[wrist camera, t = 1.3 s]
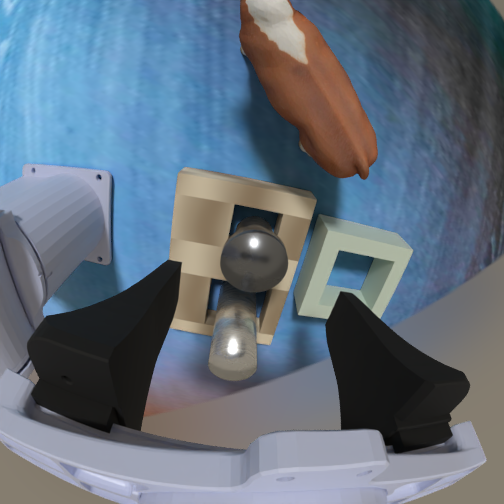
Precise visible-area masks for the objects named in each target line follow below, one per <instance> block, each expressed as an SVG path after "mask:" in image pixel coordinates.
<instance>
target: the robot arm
mask: <svg viewBox="0 0 504 504" xmlns="http://www.w3.org/2000/svg"><path fill="white" fill-rule="evenodd" d="M34 168H35V171H34ZM99 174H100V175H101V177H102V179H101V180H100V179H99V178H98V175H99ZM111 190H112V175H111V173H110V172H109V171H104V170H95V169H86V168H76V167H66V166H55V165H42V164H25V165H24V166H23V176H22V177H20V178H18V179H16V180H14V181H11V182H9V183H7V184H5V185H3V186H1V187H0V441H1V442H2V443H3V444H4V445H5V446H6V447H7V448H8V449H10V450H11V451H13V452H14V453H16V454H18V455H19V456H21V457H23V458H24V459H26V460H28V461H30V462H31V463H33V464H35V465H36V466H38V467H40V468H42V469H44V470H46V471H47V472H49V473H51V474H53V475H55V476H57V477H59V478H61V479H63V480H65V481H67V482H69V483H71V484H73V485H75V486H77V487H80V488H82V489H84V490H86V491H89V492H91V493H94V494H96V495H98V496H101V497H103V498H106V499H109V500H111V501H114V502H117V503H120V504H403V503H406V502H409V501H412V500H414V499H417V498H420V497H422V496H425V495H428V494H430V493H433V492H435V491H438V490H440V489H443V488H445V487H447V486H450V485H452V484H454V483H455V482H457V481H458V480H460V479H461V478H463V477H464V476H466V475H467V474H469V473H471V472H472V471H474V470H475V469H476V468H478V467H479V466H481V465H482V464H483V463H485V462H486V457H485V455H484V452H483V449H482V447H481V444H480V442H479V440H478V437H477V435H476V433H475V430H474V428H473V426H472V424H471V422H470V421H467V422H463V423H460V424H456V425H454V426H452V427H450V426H449V424H448V422H450V421H451V416H450V414H449V413H450V412H451V411H452V410H453V409H454V408H455V407H456V406H457V405H458V404H459V403H460V402H461V401H462V400H463V399H464V398H465V396H466V395H467V393H468V391H469V388H470V383H469V381H468V380H467V378H466V376H465V374H464V373H463V372H461V371H459V370H456V369H454V368H452V367H449V366H447V365H444V364H442V363H440V362H438V361H437V360H434V359H433V358H431V357H429V356H427V355H426V354H424V353H422V352H421V351H419V350H418V349H416V348H415V347H413V346H412V345H410V344H409V343H408V342H406V341H405V340H404V339H402V338H401V337H400V336H399V335H397V334H396V333H395V332H394V331H393V330H392V329H390V328H389V327H388V326H387V325H386V324H385V323H384V322H383V321H382V320H381V319H380V318H379V317H377V316H376V315H375V314H374V313H373V312H372V311H371V310H370V309H369V308H368V307H367V306H366V305H365V304H364V303H363V302H362V301H361V300H360V299H359V298H358V297H356V296H355V295H354V294H353V293H349V292H343V291H340V293H339V296H338V298H337V300H336V302H335V305H334V307H333V309H332V311H331V313H330V316H329V318H328V320H327V322H326V324H325V326H326V337H327V344H328V348H329V352H330V356H331V360H332V364H333V368H334V372H335V376H336V379H337V384H338V391H339V400H340V412H341V430H287V431H286V430H285V431H275V432H272V433H268V434H264V435H261V436H260V437H259V438H257V439H256V440H255V441H254V442H252V443H251V444H250V445H249V447H248V449H247V450H243V449H233V448H225V447H217V446H209V445H203V444H197V443H191V442H186V441H180V440H176V439H171V438H166V437H161V436H157V435H153V434H149V433H145V432H141V426H142V420H143V415H144V410H145V405H146V400H147V396H148V391H149V387H150V383H151V379H152V375H153V371H154V367H155V364H156V361H157V358H158V355H159V353H160V350H161V348H162V345H163V343H164V340H165V338H166V335H167V333H168V330H169V328H170V326H171V323H172V321H173V318H174V314H175V311H176V307H177V303H178V299H179V288H180V277H181V267H182V262H178V261H173V260H167V261H166V262H164V263H163V264H162V265H160V266H159V267H158V268H157V269H155V270H154V271H153V272H151V273H150V274H149V275H147V276H146V277H145V278H143V279H142V280H140V281H139V282H138V283H136V284H134V285H133V286H131V287H130V288H128V289H127V290H125V291H123V292H121V293H119V294H117V295H115V296H113V297H111V298H109V299H107V300H104V301H102V302H99V303H97V304H94V305H91V306H88V307H85V308H82V309H78V310H75V311H71V312H66V313H60V314H55V315H49V316H46V317H45V318H44V316H43V306H44V305H45V304H46V303H47V301H48V300H49V299H50V298H51V297H52V295H53V294H54V293H55V292H56V291H57V289H58V288H59V287H60V286H61V285H62V284H63V282H64V281H65V280H66V279H67V278H68V277H69V276H70V274H71V273H72V272H73V271H74V270H75V269H76V268H77V267H78V266H79V264H80V263H81V262H82V261H83V260H86V261H90V262H94V263H98V264H103V265H109V264H110V262H111V260H112V257H111ZM99 256H100V257H101V258H102V259H100V258H99ZM34 368H35V370H36V372H37V374H38V376H39V381H38V382H37V384H36V385H35V384H34V383H33V382H32V381H31V380H29V379H28V377H29V376H30V374H31V373H32V371H33V370H34Z"/></svg>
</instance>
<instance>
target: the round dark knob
mask: <svg viewBox="0 0 504 504" xmlns="http://www.w3.org/2000/svg"><path fill="white" fill-rule="evenodd" d="M220 267H221V271H222V274H223V276H224V277H225V279H226V280H227V281H228V282H229V283H230V284H231V285H232V286H234V287H235V288H237V289H239V290H242V291H245V292H263V291H266V290H269V289H271V288H273V287H275V286H276V285H277V284H279V283H280V282H281V281H282V279H283V278H284V276H285V275H286V272H287V269H288V256H287V252H286V248H285V245H284V243H283V242H282V240H281V239H280V238H279V237H278V236H277V235H276V234H275V233H273V231H272V227H271V225H270V224H269V222H268V221H267V220H265V219H264V218H262V217H259V216H249V217H246V218H244V219H243V220H242V221H240V223H239V224H238V225H237V228H236V232H235V233H234V234H232V235H231V236H230V237H229V238H228V239H227V241H226V242H225V244H224V246H223V249H222V254H221V259H220Z"/></svg>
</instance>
